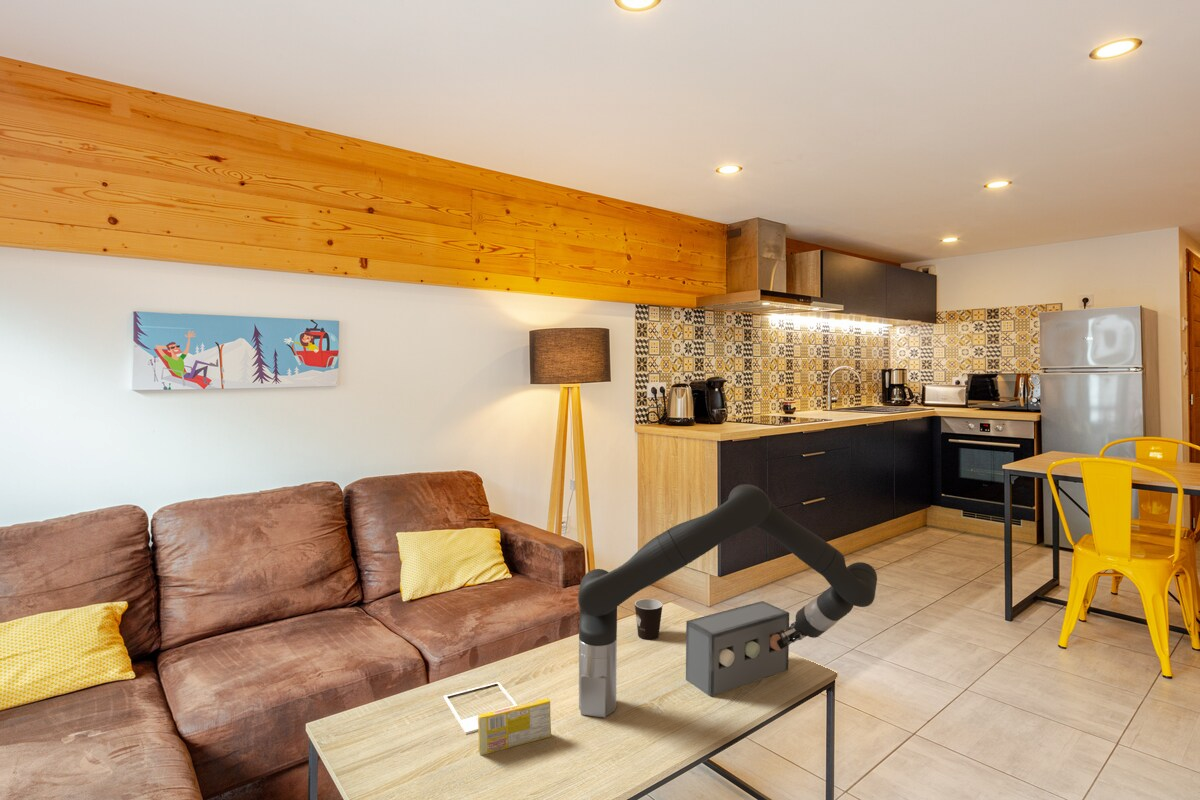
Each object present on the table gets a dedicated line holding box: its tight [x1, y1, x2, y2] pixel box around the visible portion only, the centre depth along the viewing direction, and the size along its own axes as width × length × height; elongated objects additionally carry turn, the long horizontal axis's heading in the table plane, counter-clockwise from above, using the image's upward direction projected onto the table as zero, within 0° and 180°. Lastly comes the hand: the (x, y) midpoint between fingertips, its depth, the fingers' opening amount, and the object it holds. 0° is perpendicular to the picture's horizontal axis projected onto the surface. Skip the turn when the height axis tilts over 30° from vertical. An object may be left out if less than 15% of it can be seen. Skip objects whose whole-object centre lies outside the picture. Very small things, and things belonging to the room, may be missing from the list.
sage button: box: [745, 640, 760, 658], centre depth 167 cm, size 7×4×4 cm, turn 31°
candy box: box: [477, 697, 552, 756], centre depth 138 cm, size 16×2×8 cm, turn 115°
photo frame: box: [443, 681, 518, 735], centre depth 153 cm, size 15×1×18 cm
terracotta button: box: [769, 633, 781, 651], centre depth 171 cm, size 7×4×4 cm, turn 31°
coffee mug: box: [634, 598, 664, 641], centre depth 195 cm, size 12×9×10 cm
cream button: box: [719, 648, 734, 667], centre depth 162 cm, size 7×4×4 cm, turn 31°
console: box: [685, 600, 790, 697], centre depth 169 cm, size 10×28×16 cm, turn 121°
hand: (780, 645), depth 168 cm, fingers closed
